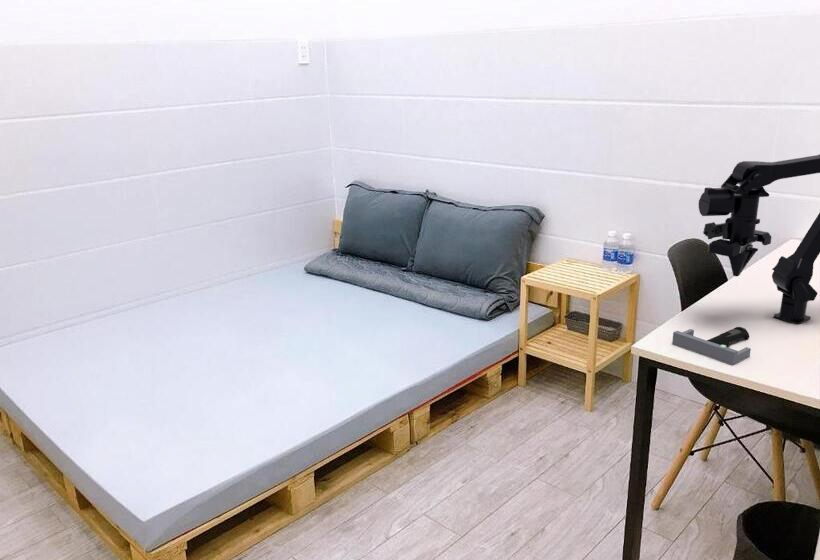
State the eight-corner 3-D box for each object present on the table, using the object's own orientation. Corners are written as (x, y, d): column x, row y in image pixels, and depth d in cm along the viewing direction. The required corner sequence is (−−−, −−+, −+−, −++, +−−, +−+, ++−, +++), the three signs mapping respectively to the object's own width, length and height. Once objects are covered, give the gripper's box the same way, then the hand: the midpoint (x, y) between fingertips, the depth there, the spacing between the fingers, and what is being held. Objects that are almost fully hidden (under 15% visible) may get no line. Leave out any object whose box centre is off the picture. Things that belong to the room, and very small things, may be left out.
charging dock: (689, 336, 165) (690, 323, 163) (749, 356, 153) (751, 342, 152) (672, 343, 161) (673, 330, 160) (732, 365, 149) (734, 351, 148)
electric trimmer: (695, 351, 158) (697, 338, 157) (736, 334, 165) (737, 322, 164) (710, 356, 155) (711, 344, 154) (750, 339, 162) (752, 327, 161)
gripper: (733, 204, 176) (726, 261, 181) (691, 215, 166) (685, 275, 171) (776, 211, 167) (767, 271, 172) (735, 222, 157) (727, 286, 162)
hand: (736, 275), depth 170 cm, fingers closed
